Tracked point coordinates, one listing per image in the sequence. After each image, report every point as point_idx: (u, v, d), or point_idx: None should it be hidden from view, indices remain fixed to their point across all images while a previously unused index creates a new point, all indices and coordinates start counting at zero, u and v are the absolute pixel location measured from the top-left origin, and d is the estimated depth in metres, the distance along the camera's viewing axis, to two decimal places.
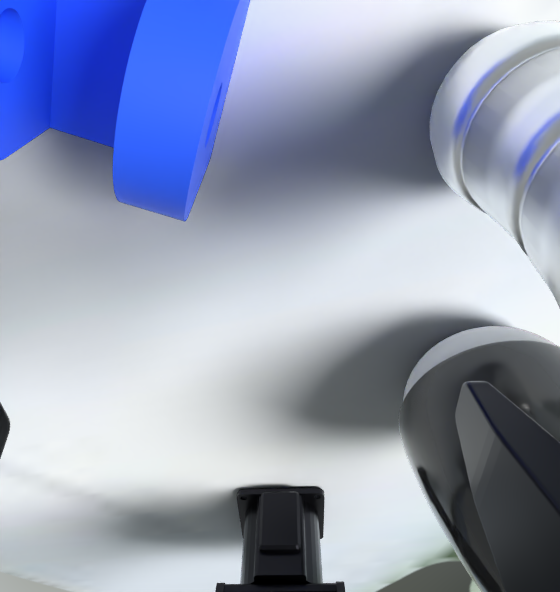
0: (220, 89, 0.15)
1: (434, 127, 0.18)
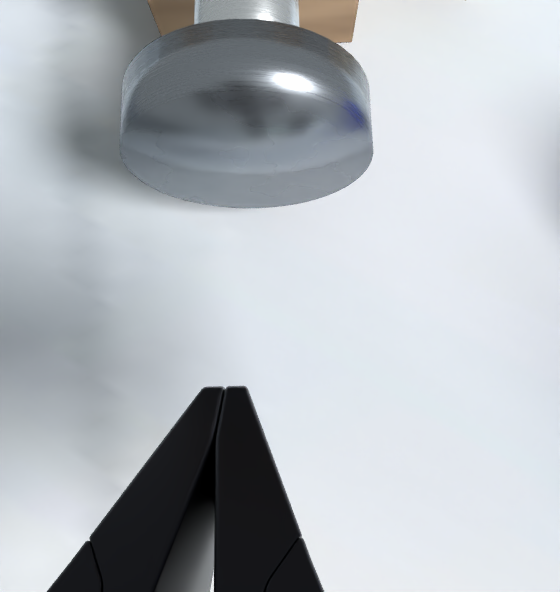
0: None
1: None
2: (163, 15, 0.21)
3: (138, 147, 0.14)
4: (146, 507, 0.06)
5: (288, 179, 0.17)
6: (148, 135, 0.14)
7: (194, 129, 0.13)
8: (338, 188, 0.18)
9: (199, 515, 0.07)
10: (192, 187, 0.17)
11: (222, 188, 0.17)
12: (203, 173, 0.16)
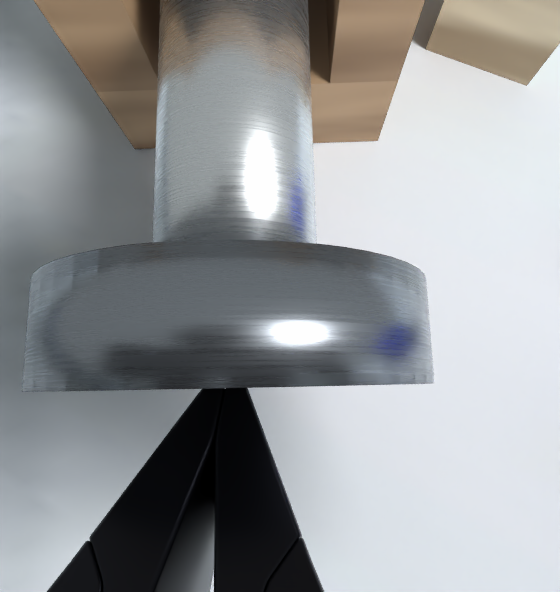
0: None
1: None
2: (126, 116, 0.16)
3: None
4: (146, 507, 0.06)
5: None
6: None
7: None
8: None
9: (199, 515, 0.07)
10: None
11: None
12: None
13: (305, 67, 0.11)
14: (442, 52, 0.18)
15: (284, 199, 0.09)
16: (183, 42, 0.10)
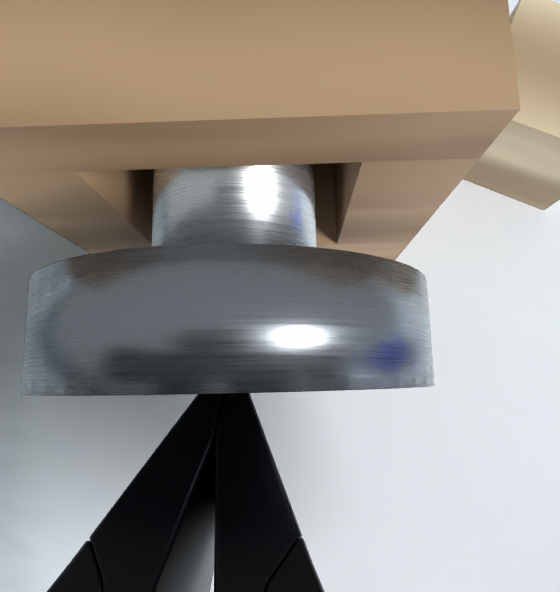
0: None
1: None
2: None
3: None
4: (146, 507, 0.06)
5: None
6: None
7: None
8: None
9: (199, 515, 0.07)
10: None
11: None
12: None
13: None
14: None
15: (285, 200, 0.09)
16: None
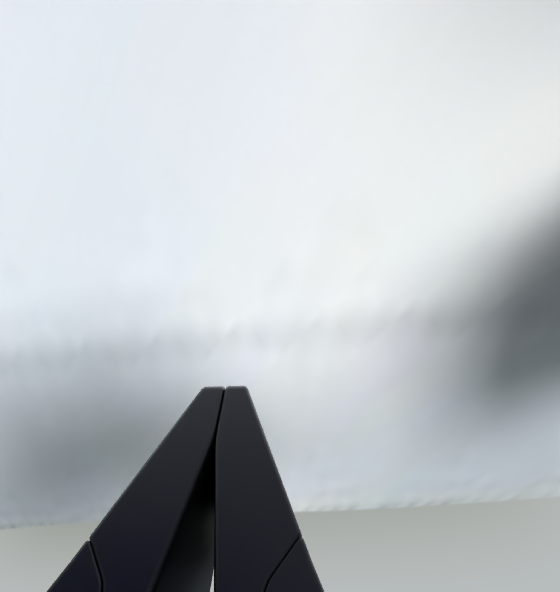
0: None
1: None
2: None
3: None
4: (146, 507, 0.06)
5: None
6: None
7: None
8: None
9: (199, 515, 0.07)
10: None
11: None
12: None
13: None
14: None
15: None
16: None
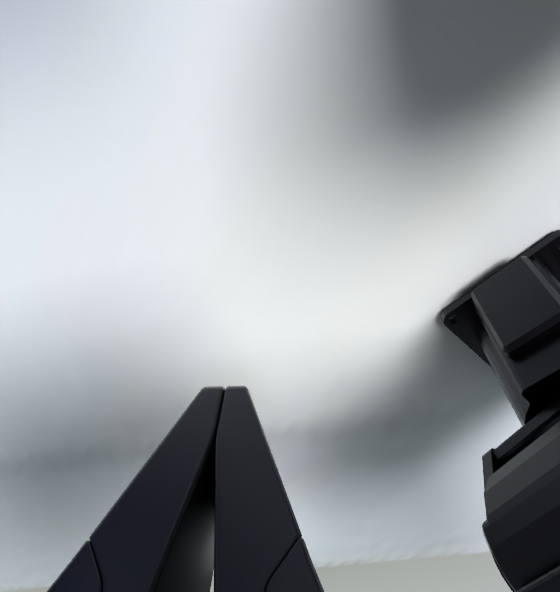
0: None
1: None
2: None
3: None
4: (146, 507, 0.06)
5: None
6: None
7: None
8: None
9: (199, 515, 0.07)
10: None
11: None
12: None
13: None
14: None
15: None
16: None
